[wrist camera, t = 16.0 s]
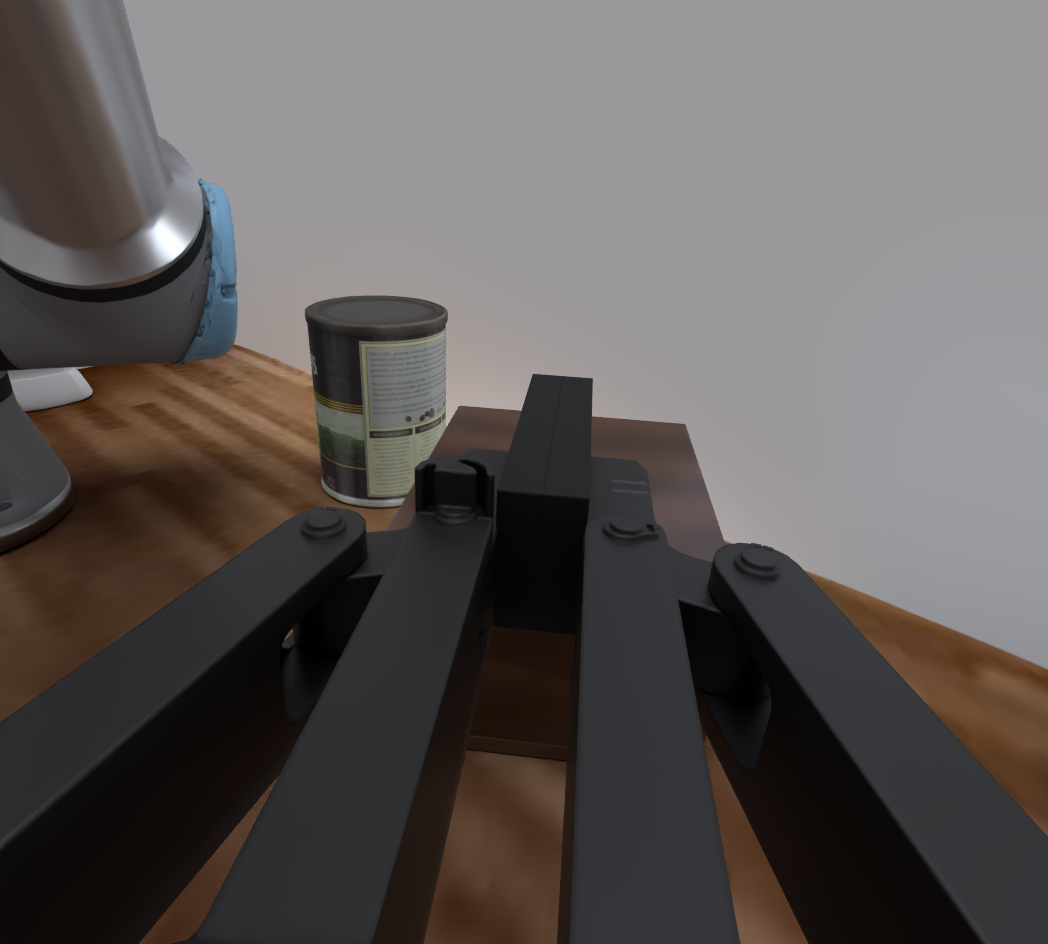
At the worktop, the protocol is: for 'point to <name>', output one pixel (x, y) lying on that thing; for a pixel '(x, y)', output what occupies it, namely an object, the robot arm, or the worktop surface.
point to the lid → (649, 443)
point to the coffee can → (376, 393)
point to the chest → (525, 694)
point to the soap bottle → (48, 387)
